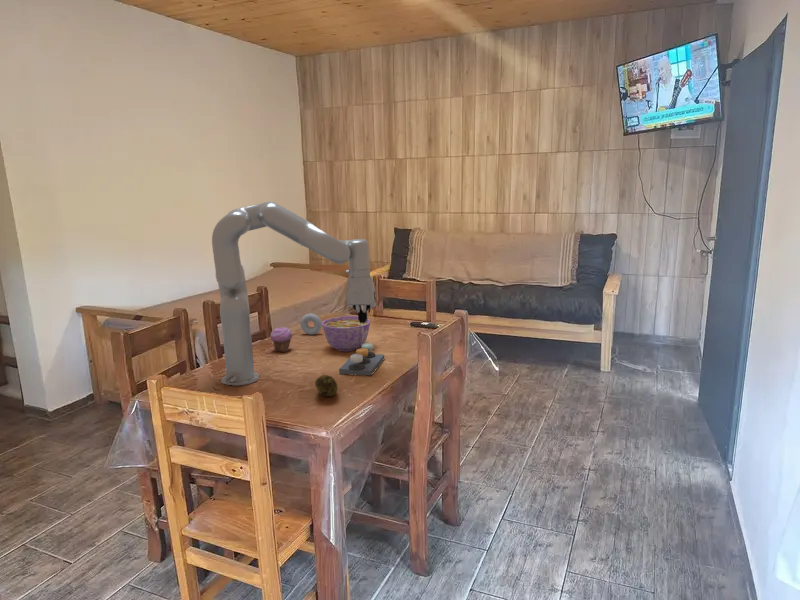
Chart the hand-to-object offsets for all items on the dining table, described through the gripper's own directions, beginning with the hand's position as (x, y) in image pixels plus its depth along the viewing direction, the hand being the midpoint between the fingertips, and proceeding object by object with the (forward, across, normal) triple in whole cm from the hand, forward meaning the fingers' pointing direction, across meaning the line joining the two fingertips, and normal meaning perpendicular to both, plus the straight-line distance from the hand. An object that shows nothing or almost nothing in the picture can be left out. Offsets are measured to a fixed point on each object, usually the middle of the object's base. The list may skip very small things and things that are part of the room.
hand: (363, 322), depth 208 cm
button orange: (+13, -1, -1) cm, 13 cm away
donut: (+17, -37, +38) cm, 56 cm away
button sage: (+13, -1, +6) cm, 14 cm away
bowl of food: (+17, -14, +20) cm, 30 cm away
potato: (+17, -4, -31) cm, 35 cm away
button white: (+13, -1, -8) cm, 15 cm away
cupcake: (+17, -40, +13) cm, 45 cm away
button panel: (+17, -1, -1) cm, 17 cm away
